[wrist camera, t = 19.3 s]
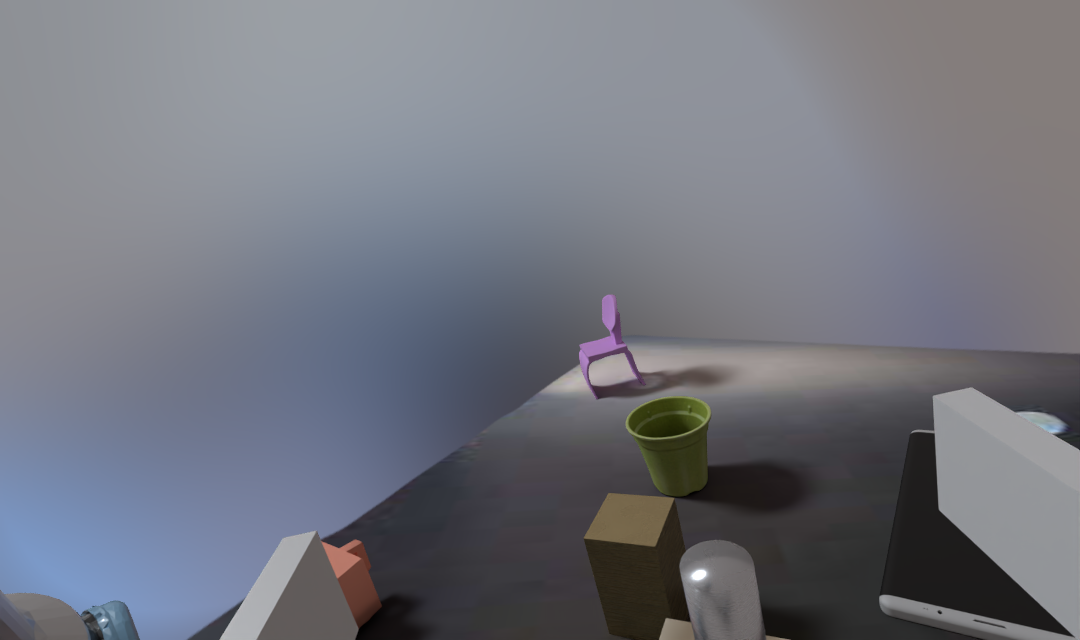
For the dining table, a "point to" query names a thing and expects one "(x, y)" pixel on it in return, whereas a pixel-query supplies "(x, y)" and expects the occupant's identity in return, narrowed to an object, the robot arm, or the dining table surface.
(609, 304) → the toy chair
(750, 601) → the cylinder
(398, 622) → the dining table surface
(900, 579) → the smartphone
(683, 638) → the socket block
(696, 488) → the plant pot
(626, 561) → the square bar
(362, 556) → the pink cube teapot
